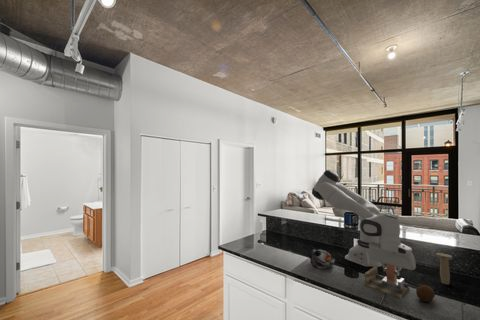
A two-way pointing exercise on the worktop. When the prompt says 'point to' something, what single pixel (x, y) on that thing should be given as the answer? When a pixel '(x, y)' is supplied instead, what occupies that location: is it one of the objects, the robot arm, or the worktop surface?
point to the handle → (444, 267)
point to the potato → (425, 293)
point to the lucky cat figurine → (321, 259)
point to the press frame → (375, 282)
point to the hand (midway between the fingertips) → (391, 273)
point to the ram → (393, 277)
